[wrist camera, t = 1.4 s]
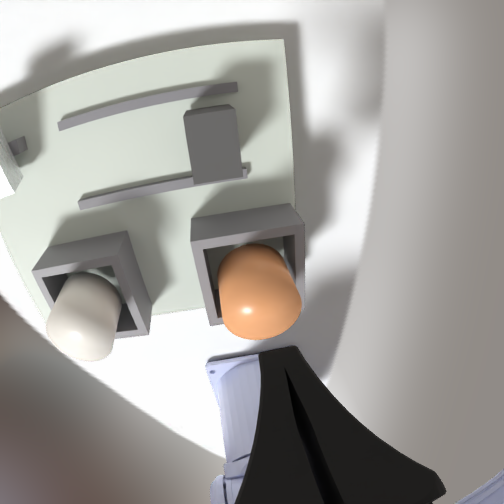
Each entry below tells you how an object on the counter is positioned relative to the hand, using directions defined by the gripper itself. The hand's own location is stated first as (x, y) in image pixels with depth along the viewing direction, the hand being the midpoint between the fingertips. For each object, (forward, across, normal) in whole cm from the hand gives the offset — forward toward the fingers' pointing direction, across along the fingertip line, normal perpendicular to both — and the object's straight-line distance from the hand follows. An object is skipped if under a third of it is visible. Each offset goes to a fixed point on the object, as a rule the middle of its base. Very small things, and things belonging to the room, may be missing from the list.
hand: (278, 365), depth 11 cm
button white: (+6, +9, 0) cm, 11 cm away
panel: (+10, +6, -4) cm, 13 cm away
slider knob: (+8, +1, -7) cm, 11 cm away
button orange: (+6, 0, 0) cm, 6 cm away
